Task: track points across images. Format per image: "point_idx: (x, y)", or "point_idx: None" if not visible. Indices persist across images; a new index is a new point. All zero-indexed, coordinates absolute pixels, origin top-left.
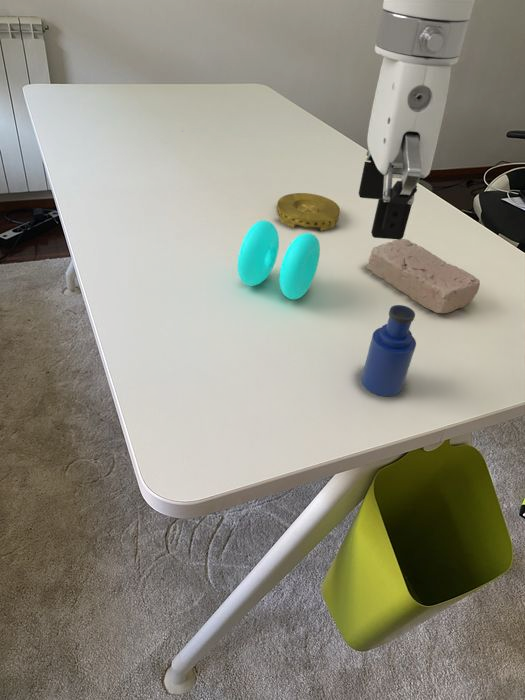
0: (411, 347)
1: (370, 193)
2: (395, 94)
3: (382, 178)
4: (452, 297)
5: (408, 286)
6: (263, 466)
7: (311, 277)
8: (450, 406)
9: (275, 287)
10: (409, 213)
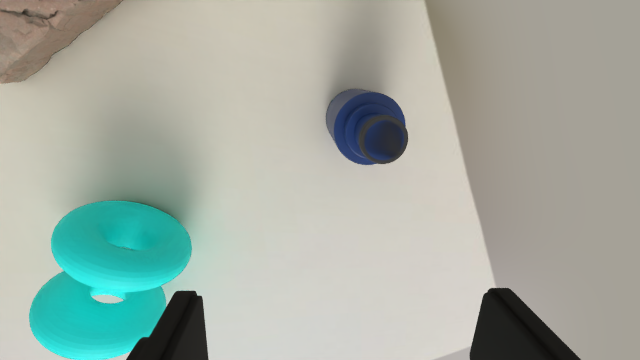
0: (391, 105)
1: (202, 355)
2: None
3: None
4: None
5: (91, 15)
6: (474, 259)
7: (127, 208)
8: (401, 24)
9: None
10: (578, 357)
